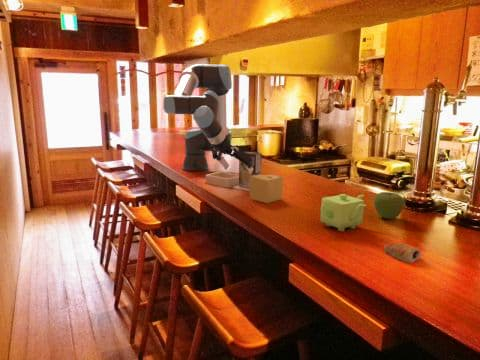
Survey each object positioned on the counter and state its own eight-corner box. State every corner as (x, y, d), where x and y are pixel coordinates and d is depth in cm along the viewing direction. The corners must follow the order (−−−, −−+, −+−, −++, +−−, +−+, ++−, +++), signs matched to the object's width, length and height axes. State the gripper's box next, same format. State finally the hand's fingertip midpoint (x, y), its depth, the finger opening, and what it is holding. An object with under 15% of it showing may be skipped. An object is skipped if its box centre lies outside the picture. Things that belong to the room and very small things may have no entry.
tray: (220, 179, 198) (220, 171, 197) (243, 183, 190) (243, 175, 189) (205, 182, 189) (205, 174, 188) (228, 187, 181) (228, 179, 180)
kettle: (361, 221, 136) (364, 191, 133) (366, 235, 122) (370, 201, 120) (318, 218, 138) (320, 188, 136) (319, 231, 125) (321, 198, 122)
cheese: (264, 195, 169) (265, 172, 167) (283, 200, 162) (284, 176, 159) (248, 198, 162) (248, 175, 160) (267, 204, 154) (268, 180, 152)
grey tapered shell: (378, 253, 109) (379, 240, 108) (391, 248, 113) (393, 236, 112) (409, 265, 101) (411, 251, 101) (422, 259, 105) (424, 246, 105)
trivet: (246, 184, 189) (246, 182, 188) (265, 187, 182) (265, 186, 182) (233, 187, 180) (233, 186, 180) (252, 191, 174) (252, 190, 173)
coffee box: (261, 186, 181) (262, 152, 178) (255, 189, 176) (256, 154, 172) (244, 183, 186) (245, 151, 182) (237, 186, 180) (238, 152, 177)
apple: (365, 215, 142) (368, 189, 140) (385, 212, 147) (388, 187, 145) (389, 224, 133) (392, 197, 131) (409, 220, 138) (412, 193, 136)
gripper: (191, 142, 162) (214, 172, 177) (238, 148, 148) (258, 180, 163) (200, 129, 165) (221, 159, 181) (246, 133, 151) (265, 166, 166)
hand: (239, 169), depth 172 cm, fingers open, 13 cm apart
